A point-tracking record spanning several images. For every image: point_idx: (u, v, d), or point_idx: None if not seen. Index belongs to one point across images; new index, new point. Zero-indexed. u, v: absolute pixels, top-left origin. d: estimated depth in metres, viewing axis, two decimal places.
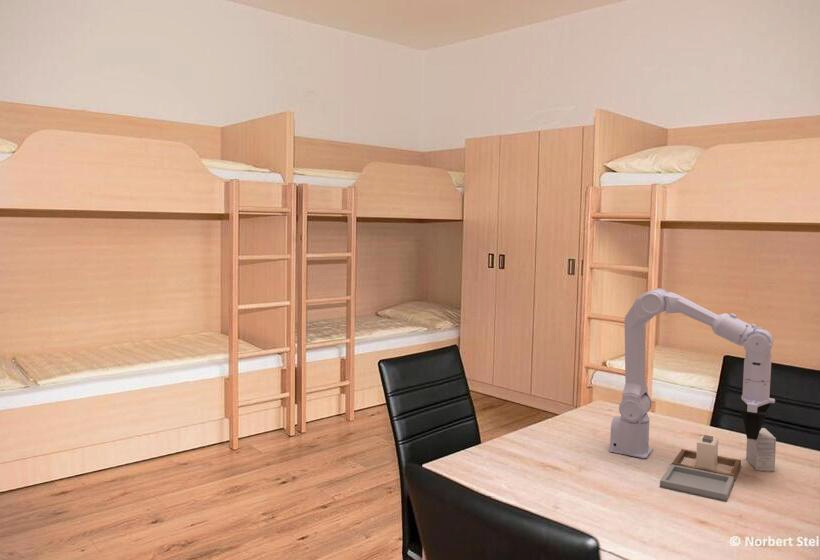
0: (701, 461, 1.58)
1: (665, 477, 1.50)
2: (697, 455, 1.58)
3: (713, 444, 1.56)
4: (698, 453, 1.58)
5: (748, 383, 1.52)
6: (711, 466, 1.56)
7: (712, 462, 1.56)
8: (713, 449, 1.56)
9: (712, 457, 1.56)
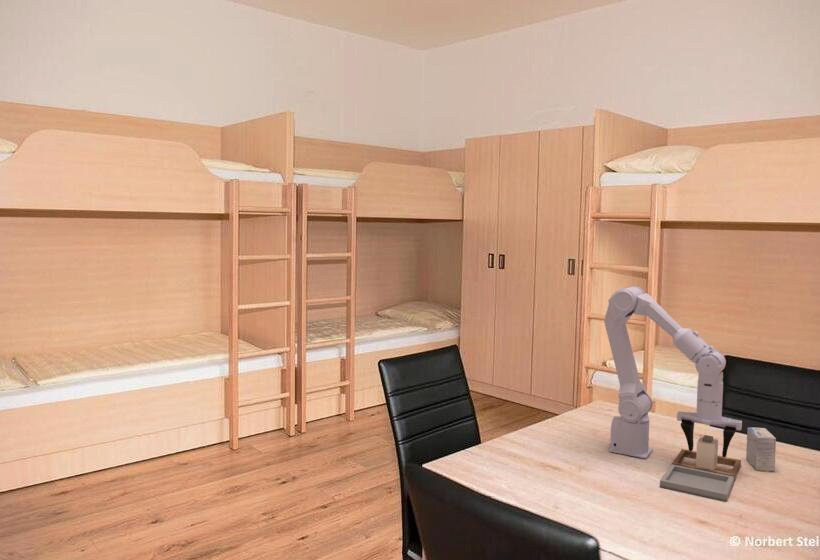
0: (701, 461, 1.58)
1: (665, 477, 1.50)
2: (697, 455, 1.58)
3: (713, 444, 1.56)
4: (698, 453, 1.58)
5: None
6: (711, 466, 1.56)
7: (712, 462, 1.56)
8: (713, 449, 1.56)
9: (712, 457, 1.56)
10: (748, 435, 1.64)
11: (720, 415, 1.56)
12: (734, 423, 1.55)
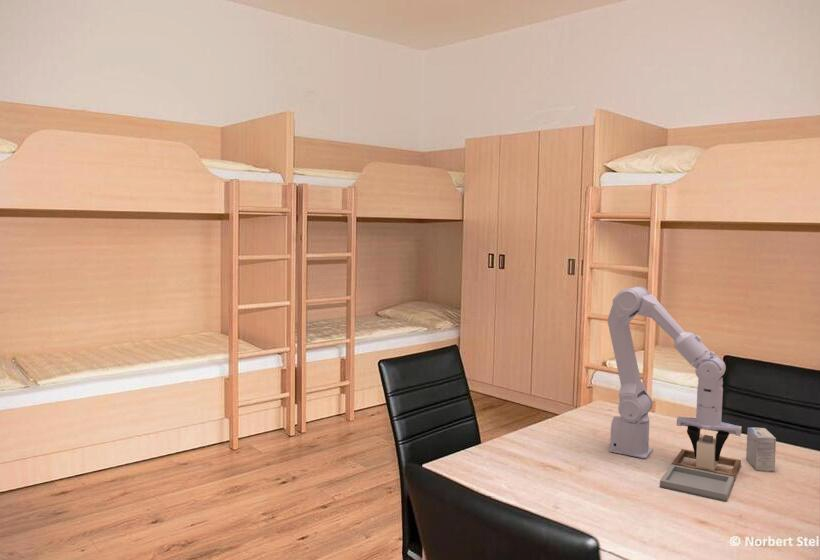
0: (701, 461, 1.58)
1: (665, 477, 1.50)
2: (697, 455, 1.58)
3: (713, 444, 1.56)
4: (698, 453, 1.58)
5: None
6: (711, 466, 1.56)
7: (712, 462, 1.56)
8: (713, 449, 1.56)
9: (712, 457, 1.56)
10: (748, 435, 1.64)
11: (720, 420, 1.57)
12: (734, 429, 1.55)
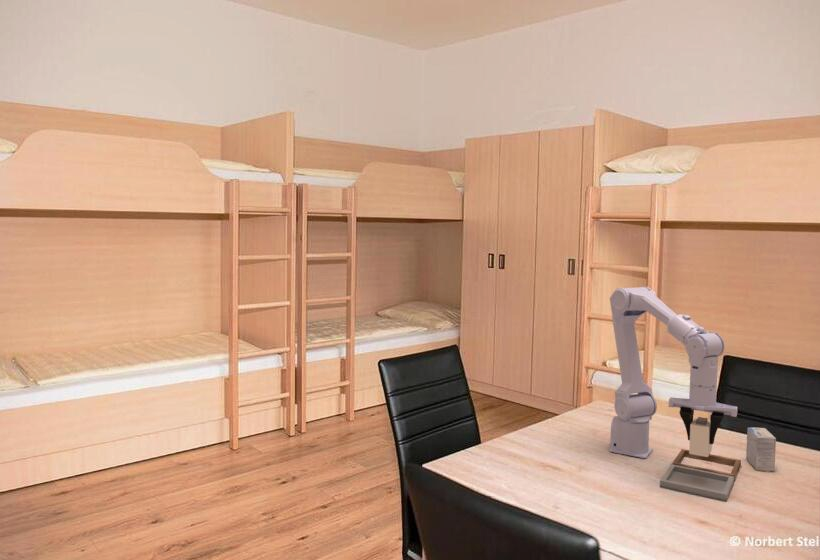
0: (695, 444, 1.48)
1: (665, 477, 1.50)
2: (691, 438, 1.49)
3: (707, 426, 1.47)
4: (692, 436, 1.48)
5: None
6: (705, 449, 1.47)
7: (706, 445, 1.47)
8: (707, 431, 1.46)
9: (706, 440, 1.47)
10: (748, 435, 1.64)
11: (714, 401, 1.47)
12: (729, 409, 1.45)
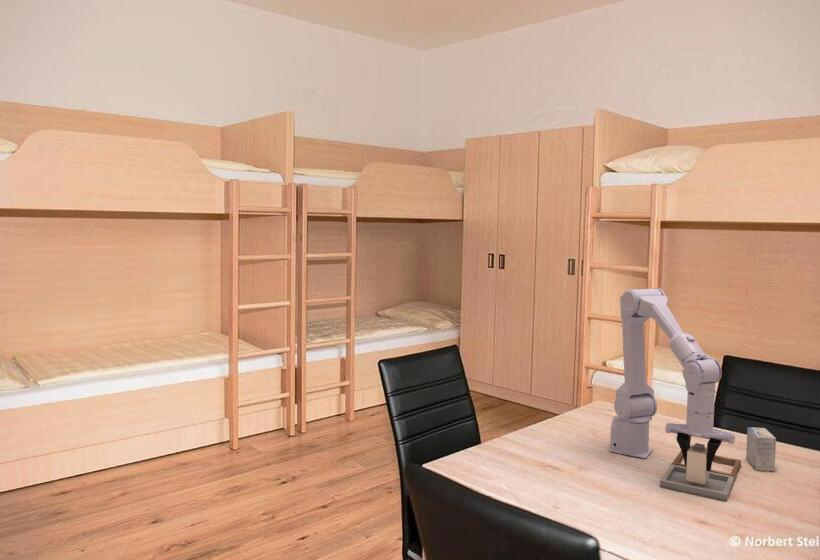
0: (691, 471, 1.47)
1: (665, 477, 1.50)
2: (688, 465, 1.47)
3: (704, 453, 1.46)
4: (689, 463, 1.47)
5: None
6: (702, 477, 1.46)
7: (703, 472, 1.46)
8: (704, 458, 1.45)
9: (703, 467, 1.45)
10: (748, 435, 1.64)
11: (711, 427, 1.46)
12: (726, 436, 1.44)
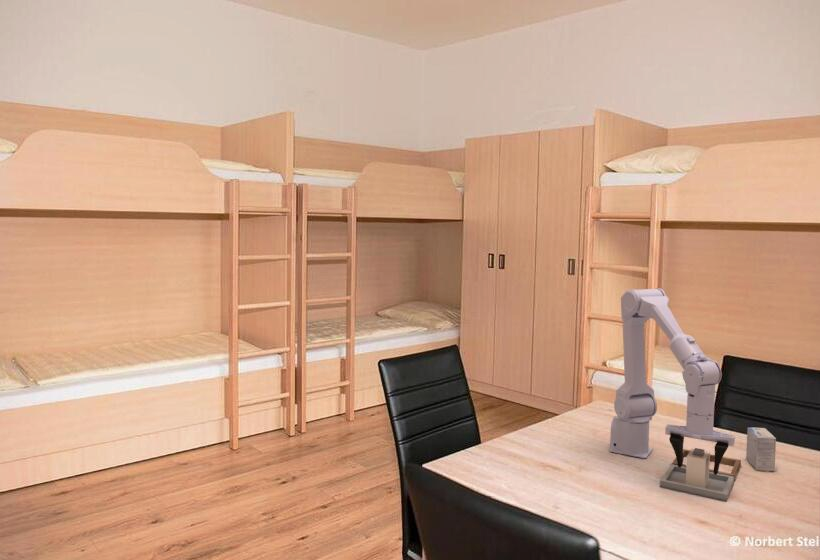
0: (691, 476, 1.47)
1: (665, 477, 1.50)
2: (687, 470, 1.47)
3: (704, 458, 1.46)
4: (688, 468, 1.47)
5: None
6: (702, 482, 1.46)
7: (703, 477, 1.46)
8: (704, 463, 1.45)
9: (703, 472, 1.46)
10: (748, 435, 1.64)
11: (711, 429, 1.46)
12: (726, 438, 1.44)
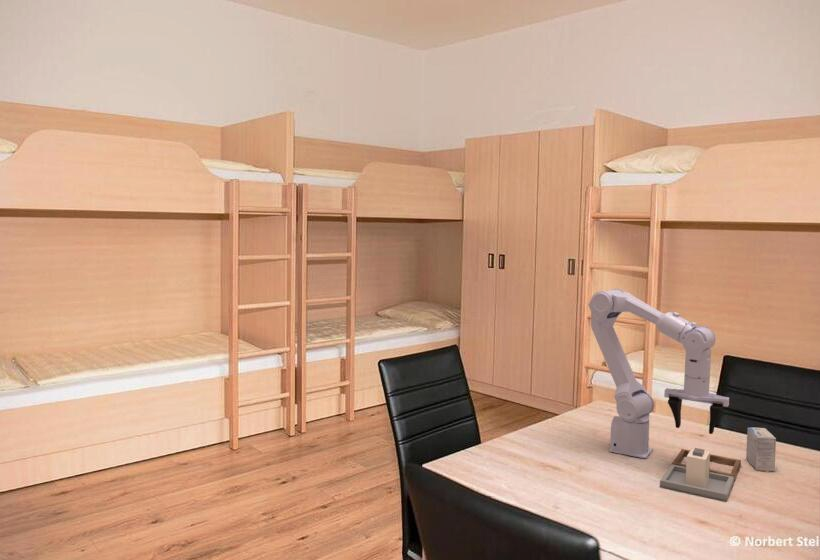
0: (691, 476, 1.47)
1: (665, 477, 1.50)
2: (687, 470, 1.47)
3: (704, 458, 1.46)
4: (688, 468, 1.47)
5: None
6: (702, 482, 1.46)
7: (703, 477, 1.46)
8: (704, 463, 1.45)
9: (703, 472, 1.46)
10: (748, 435, 1.64)
11: (707, 392, 1.55)
12: (721, 399, 1.53)
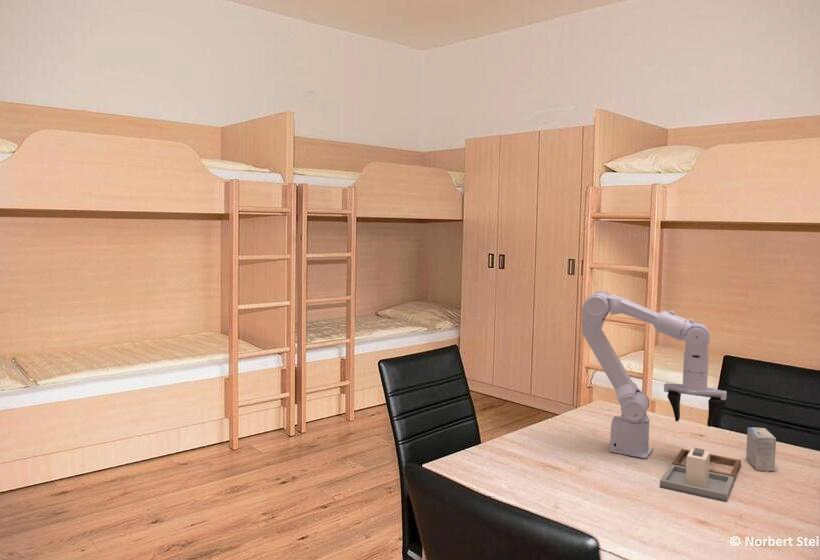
0: (691, 476, 1.47)
1: (665, 477, 1.50)
2: (687, 470, 1.47)
3: (704, 458, 1.46)
4: (688, 468, 1.47)
5: None
6: (702, 482, 1.46)
7: (703, 477, 1.46)
8: (704, 463, 1.45)
9: (703, 472, 1.46)
10: (748, 435, 1.64)
11: (705, 386, 1.61)
12: (719, 393, 1.59)
